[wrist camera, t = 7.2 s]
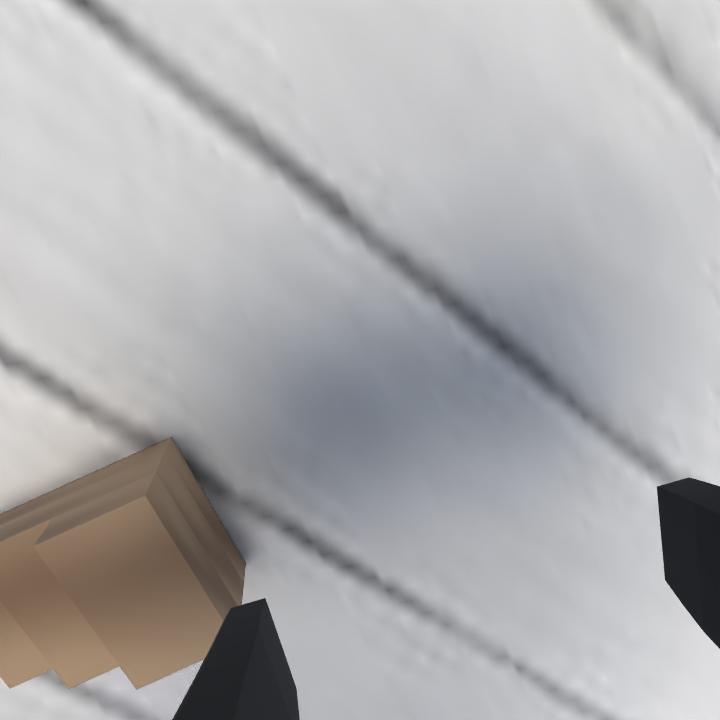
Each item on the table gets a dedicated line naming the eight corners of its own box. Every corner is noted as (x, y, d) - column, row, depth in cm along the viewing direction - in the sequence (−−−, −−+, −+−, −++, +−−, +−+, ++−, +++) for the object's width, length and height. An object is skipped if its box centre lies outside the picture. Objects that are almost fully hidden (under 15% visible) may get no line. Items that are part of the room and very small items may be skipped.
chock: (245, 558, 20) (237, 643, 16) (27, 657, 20) (-33, 766, 16) (173, 433, 18) (145, 495, 14) (-65, 540, 18) (-154, 630, 14)
